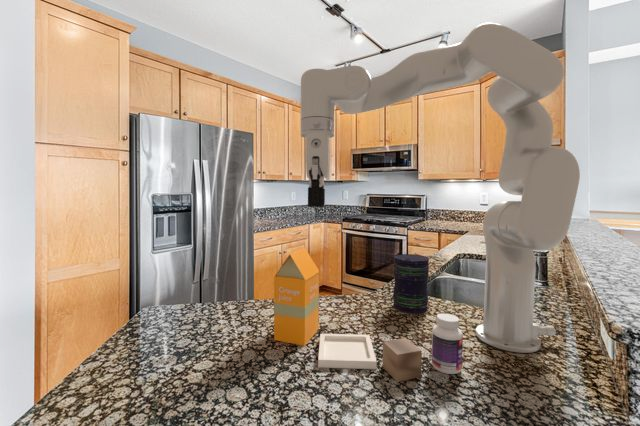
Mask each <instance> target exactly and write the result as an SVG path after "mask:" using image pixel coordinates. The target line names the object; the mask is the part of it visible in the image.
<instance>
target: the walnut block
mask: <svg viewBox="0 0 640 426" xmlns="http://www.w3.org/2000/svg"><path fill="white" fill-rule="evenodd" d="M422 351H423V350H422V349H421V348H419V347H418V346H416V345H415V344H414V343H413V342H412V341H410V340H409V339H408V338H406V337H405V338H399V339H397V338H396V339H392V340H384V341H382V368H383V369H384V370H385V371H386V372H387V374H389V375H390V376H391V377H392V379H393V380H395V382H397V383H399V382H403V381H408V380H413V379H417V378H421V377H422V354H423V353H422Z"/></svg>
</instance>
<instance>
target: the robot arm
mask: <svg viewBox="0 0 640 426" xmlns="http://www.w3.org/2000/svg"><path fill="white" fill-rule="evenodd" d="M490 72H492V73H493V74H494V75H496V76H498V77H497V78H496V79H494V81H493V82H492V83H491V84H490V86H489V88H488V90H487V95H486V96H487V97H486V99H487V102H488V104H489V106H490V108H491V109H492V110H493V111H494V112H495V113H496V114H497V115H498V116H499V117H500V118H501V119H502V121H503V123H504V125H505V130H506V133H505V135H506V136H505V141H504V142H505V143H504V148H503V152H502V158H501V163H500V167H499V172H498V184H499V187H500V188H501V189H502V190H503V192H505V193H506V194H510V195H513V196H521V200H517V201H516V200H507V201H506V200H505V201H500V202H498V203H496V204H494V205H492V206H491V207H490V208H489V209H488V210H487V212H486V213H485V215H484V217H483V222H482V224H483V226H482V228H483V237H484V242H485V243H484V244H485V245H484V246H485V272H484V295H483V296H484V299H483V301H484V303H483V323H482V324H479V325H477V326H476V328H475V335H476V337H477V338H478V339H479V340H481V341H482V342H484V343H485V344H486V345H489V346H492V347H494V348H497V349H499V350H503V351H508V352H512V353H521V354H531V353H534V352H538V351H539V350H540V349H541V345H542V344H541V343H542V342H541V340H540V339H539V338H538V337H541V336H542V335H543V336H556V334H557V333H556V328H555V327H554V326H551V325H544V326H543V325H542V324H541V323H540V322H534V307H535V306H534V305H535V304H534V303H535V288H536V287H535V285H536V282H535V281H536V270H537V267H536V264H537V263H536V257H535V253H534V251H541V252H543V251H544V252H545V251H550V250H552V249H555V248H556V247H558V246H559V245H560V244H561V243H562V242H563V241H564V239H565V237H566V236H567V234H568V231H569V228H570V224H571V220H572V216H573V211H574V208H575V202H576V200H577V199H576V198H577V194H578V189H579V183H580V177H581V175H580V174H581V173H580V166H579V163H578V160H577V159H576V157H575V155H574V154H573V153H572V152H571V151H569V150H568V149H566V148H564V147H560V146H552V141H553V140H552V139H553V135H554V125H553V120H552V117H551V115H550V113H549V112H548V110H547V109H546V108H545V107H544V106H543V104H542V103H541V102H540V100H542V99H544V98H546V97H548V96H550V95H551V94H553V93H554V92H555V91H556V90H557V89H558V87H560V85H561V84H562V81H563V79H564V75H565V70H564V65H563V63H562V61H561V60H560V58H559V57H558V56H557V55H556V54H555V53H554V52H552V51H550V49H548V48H546V47H544V46H542V45H540V44H539V43H537V42H535V41H534V40H532V39H530V38H529V37H527V36H525V35H523V34H522V33H520V32H518V31H517V30H514V29H512V28H510V27H508V26H505V25H504V24H503V25H502V24H499V23H495V22H484V23H481V24H479V25H477V26H475V27H474V28H473V29H472V30H471V31H470V32H469V33H468V34H467V36H465V38H464V39H463V40H462V41H461V42H459V43H455V44H452V45H448V46H443V47H439V48H434V49H430V50H429V49H428V50H425V51H424V50H423V51H419V52H416V53H413V54H411V55H409V56H407V57H405V58H404V59H402V61H401V62H400V63H398V64H397V65H395V66H394V67H393V68H391V69H390V70H388V71H387V72H384V73H382V74H381V75H378V76H376V77H373V78H372V77H371V74H370V73H369V71H368V70H367V69H366V68H364V67H362V66H360V65H347V66H342V67H341V66H340V67H337V68H331V69H325V68H310V69H308V70H306V71H304V72H303V74H302V75H301V78H300V137H302V138H304V139H305V171H306V172H305V173H306V178H307V179H308V187H307V206H308V207H309V208H311V207H312V208H322V207H324V205H325V203H326V201H325V200H326V199H325V197H326V196H325V194H326V189H325V182H324V181H325V179H326V181H329V180H330V177H331V174H330V173H331V172H330V171H331V169H330V167H331V144H330V143H331V142H330V139H331V138H333V137H335V104H336V107H337V108H338V110H340V111H341V112H342V113H344V114H349V115H355V114H356V115H357V114H360V113H362V114H363V113H366V112H371V111H375V110H379V109H383V108H386V107H389V106H391V105H395V104H397V103H400V102H404V101H406V100H410V99H412V98H414V97H416V96H421V95H423V94H424V95H425V94H429V93H433V92H439V91H444V90H448V89H453V88H457V87H462V86H465V85H470V84H473V83H475V82H478V80H481V79H482V78H483V77H485V76H486V75H487V74H489V73H490Z"/></svg>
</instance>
